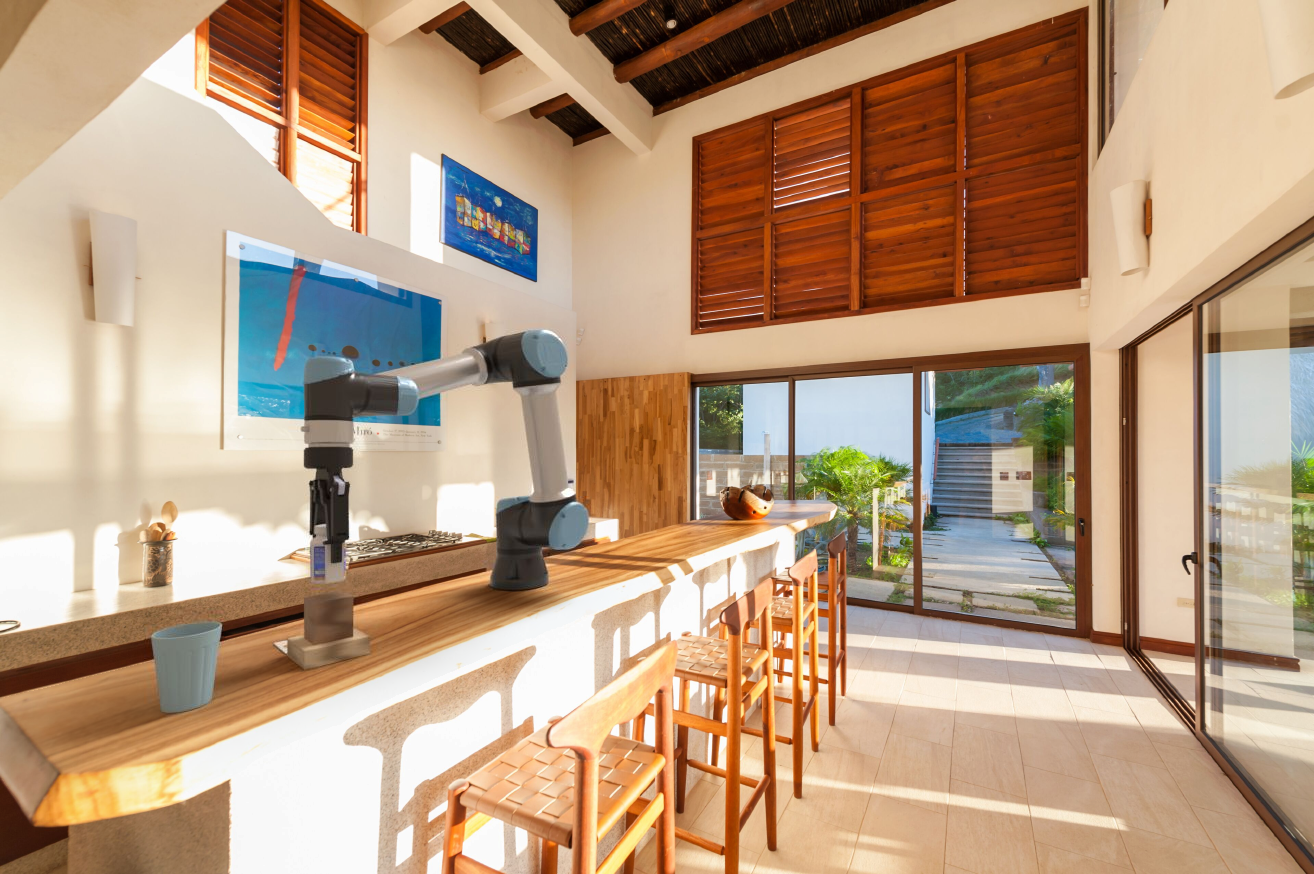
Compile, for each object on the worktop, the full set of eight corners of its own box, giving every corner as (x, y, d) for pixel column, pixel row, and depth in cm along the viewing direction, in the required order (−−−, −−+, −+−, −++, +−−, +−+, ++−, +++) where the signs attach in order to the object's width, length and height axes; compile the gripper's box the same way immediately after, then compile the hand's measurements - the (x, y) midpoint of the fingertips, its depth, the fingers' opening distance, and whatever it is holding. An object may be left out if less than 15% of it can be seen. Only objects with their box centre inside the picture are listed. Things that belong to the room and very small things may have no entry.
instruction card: (333, 631, 113) (333, 629, 113) (347, 639, 107) (347, 638, 107) (273, 644, 105) (273, 642, 105) (285, 654, 100) (285, 652, 100)
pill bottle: (352, 579, 101) (352, 523, 101) (321, 585, 96) (321, 527, 96) (334, 576, 103) (334, 522, 104) (303, 582, 99) (303, 525, 99)
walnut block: (341, 629, 104) (341, 590, 104) (353, 636, 100) (353, 596, 100) (304, 637, 99) (304, 597, 100) (314, 645, 95) (314, 602, 95)
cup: (134, 715, 77) (135, 636, 77) (190, 691, 85) (191, 620, 85) (182, 719, 76) (183, 639, 76) (234, 694, 83) (235, 622, 84)
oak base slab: (349, 641, 107) (349, 624, 107) (369, 653, 100) (369, 636, 100) (287, 655, 99) (287, 638, 99) (304, 670, 92) (304, 651, 92)
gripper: (289, 446, 104) (288, 575, 103) (321, 444, 91) (321, 591, 91) (334, 446, 109) (334, 568, 109) (371, 444, 97) (371, 583, 96)
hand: (328, 578), depth 100 cm, fingers closed on pill bottle, 5 cm apart
